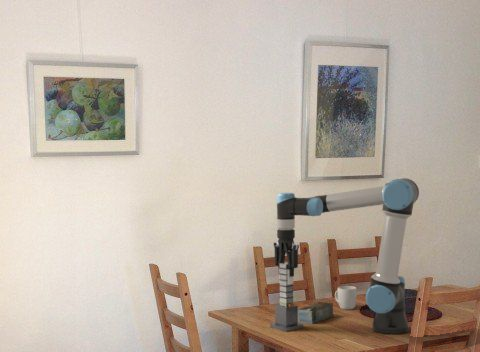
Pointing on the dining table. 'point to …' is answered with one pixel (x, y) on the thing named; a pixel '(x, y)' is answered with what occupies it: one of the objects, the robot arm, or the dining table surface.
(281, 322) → the stand
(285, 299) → the column
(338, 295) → the mug
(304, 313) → the beverage carton
